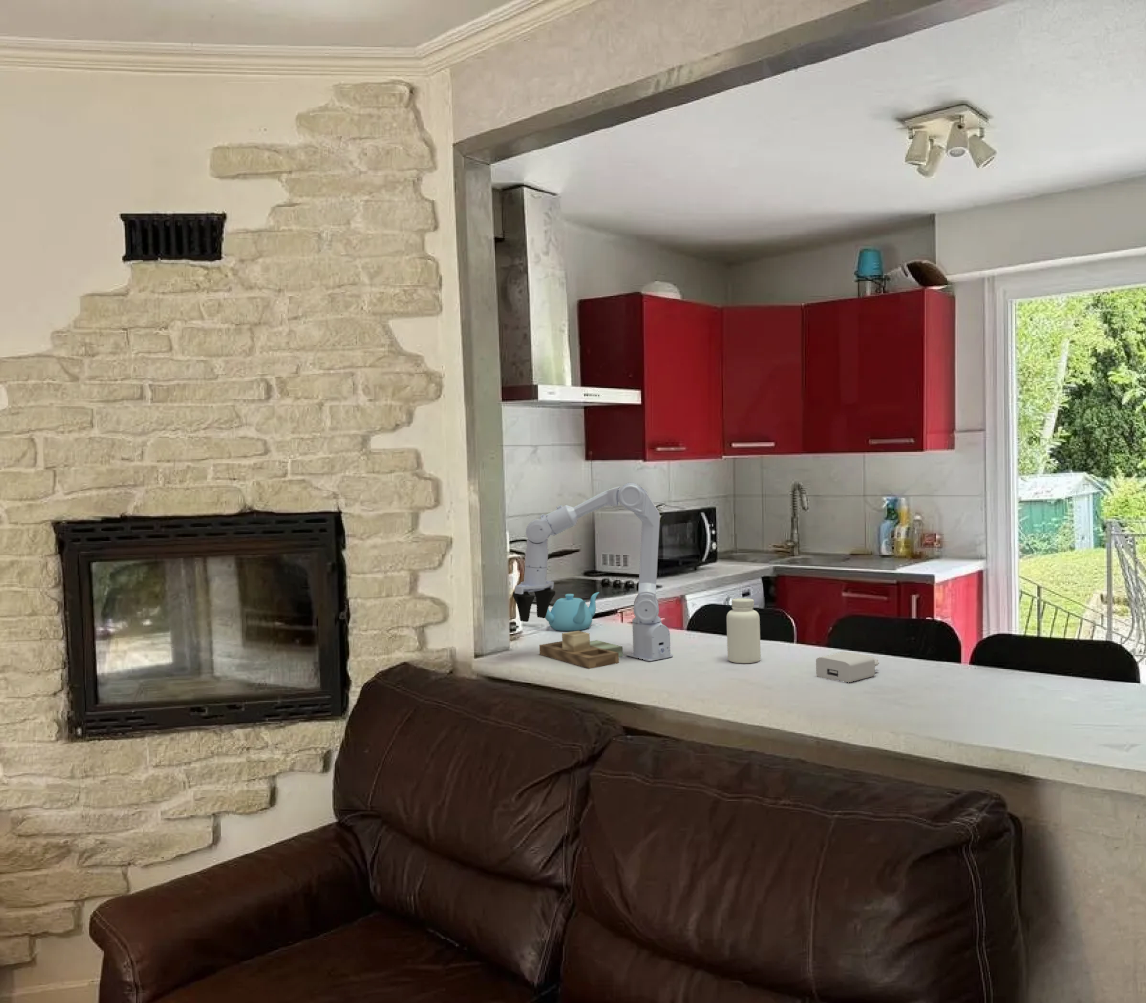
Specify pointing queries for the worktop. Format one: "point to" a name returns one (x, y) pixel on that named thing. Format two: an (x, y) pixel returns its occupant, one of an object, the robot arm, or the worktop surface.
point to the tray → (584, 654)
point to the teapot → (571, 613)
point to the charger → (846, 666)
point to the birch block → (576, 641)
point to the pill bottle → (743, 632)
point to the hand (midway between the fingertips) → (532, 619)
